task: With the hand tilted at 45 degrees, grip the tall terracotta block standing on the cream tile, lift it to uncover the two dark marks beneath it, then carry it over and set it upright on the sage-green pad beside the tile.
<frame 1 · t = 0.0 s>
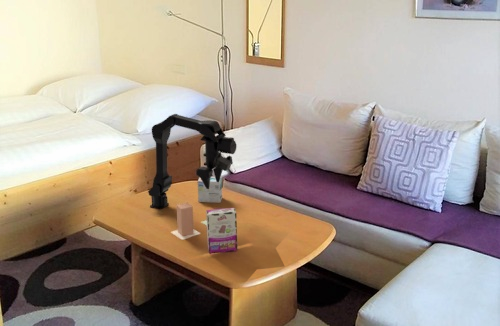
hand: (212, 185, 237), 15 cm above the table, tool pointing down, fingers open, 9 cm apart
terracotta block: (185, 232, 224), point 1 cm above the table, touching code mat
candy bar box: (222, 250, 212), on the table
code mat: (200, 229, 229), on the table
light bulb box: (210, 200, 260), on the table
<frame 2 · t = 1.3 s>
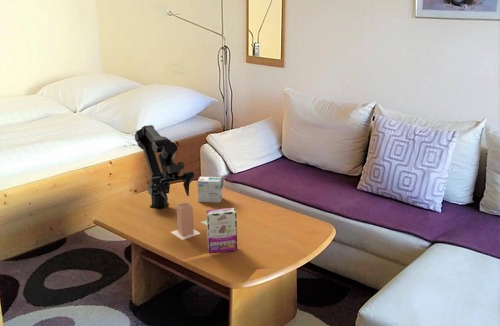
hand: (177, 197, 227), 13 cm above the table, tool tilted 45°, fingers open, 9 cm apart
nothing on the table moved.
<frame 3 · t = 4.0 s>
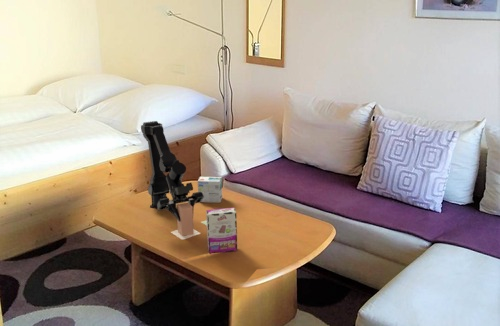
hand: (186, 219, 221), 7 cm above the table, tool tilted 45°, fingers closed on terracotta block, 5 cm apart
terracotta block: (185, 232, 224), point 1 cm above the table, touching code mat, gripper
everything else where it was.
when the fingers open (8 cm above the table, at t = 8.9 s): terracotta block drops 1 cm, resting on code mat.
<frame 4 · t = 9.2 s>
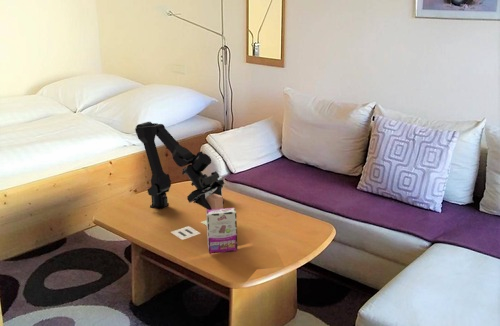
hand: (217, 207, 230), 8 cm above the table, tool tilted 45°, fingers open, 8 cm apart
terracotta block: (215, 222, 234), point 1 cm above the table, touching code mat
everything else where it was.
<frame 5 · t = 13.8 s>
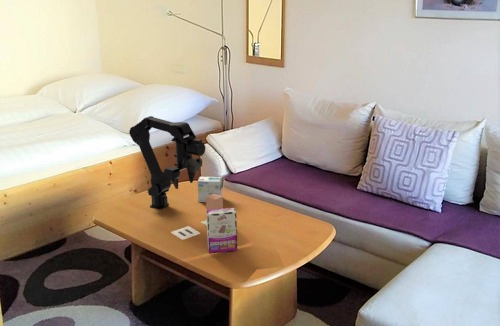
hand: (184, 185, 241), 13 cm above the table, tool pointing down, fingers open, 9 cm apart
nothing on the table moved.
at the end: terracotta block 0.0 cm from the target spot, point 0.8 cm above the table; terracotta block tilted 0°; the gripper is holding nothing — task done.
